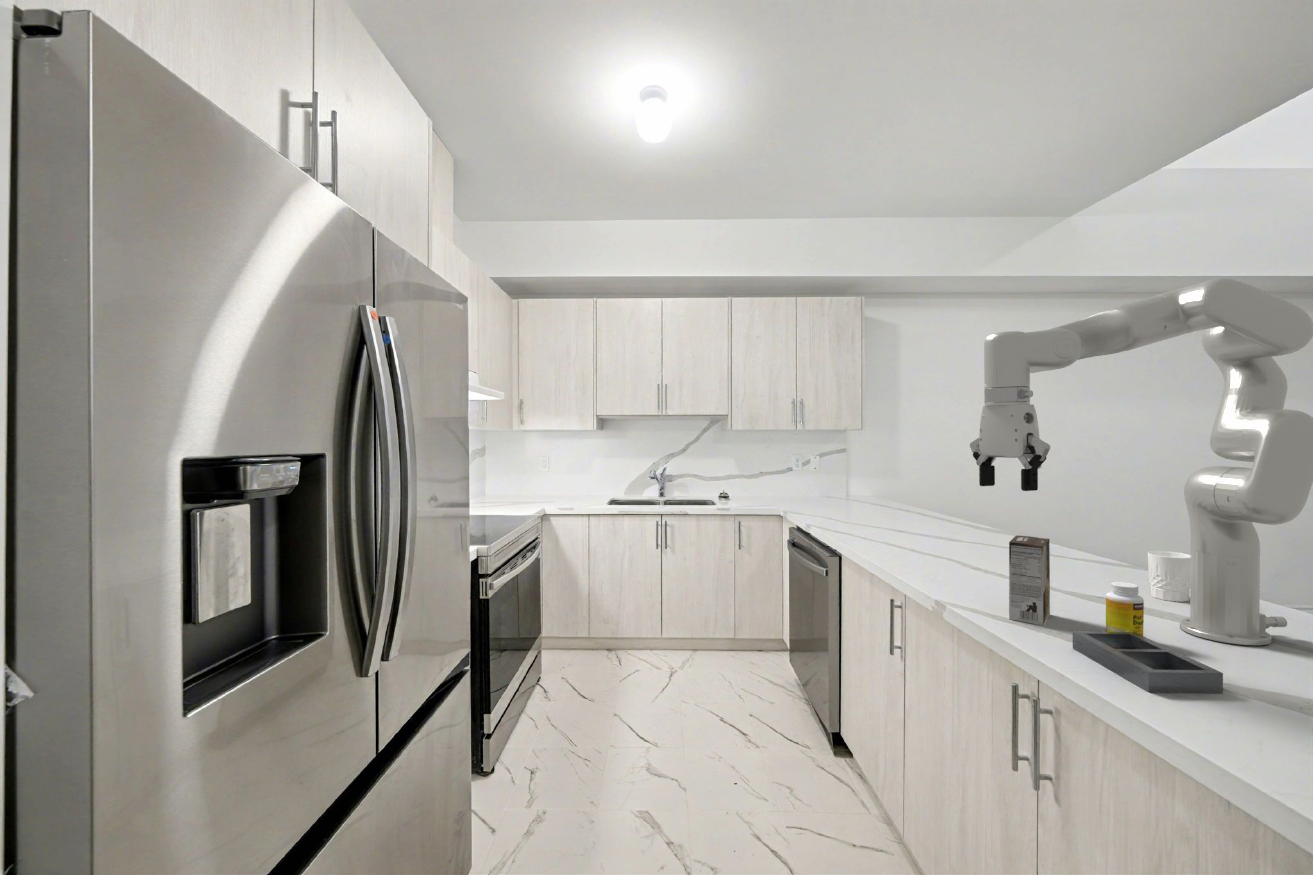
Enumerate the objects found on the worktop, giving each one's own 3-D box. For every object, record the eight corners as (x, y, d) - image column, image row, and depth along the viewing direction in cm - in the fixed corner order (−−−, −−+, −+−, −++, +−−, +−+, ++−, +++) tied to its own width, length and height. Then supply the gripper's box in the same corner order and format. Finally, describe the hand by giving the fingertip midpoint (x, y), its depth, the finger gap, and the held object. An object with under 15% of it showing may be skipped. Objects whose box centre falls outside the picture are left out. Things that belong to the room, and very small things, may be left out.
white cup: (1138, 595, 141) (1139, 552, 141) (1162, 592, 144) (1162, 549, 144) (1176, 604, 134) (1176, 559, 134) (1201, 600, 136) (1201, 556, 136)
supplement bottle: (1136, 646, 109) (1136, 589, 109) (1100, 638, 113) (1100, 583, 113) (1148, 640, 112) (1148, 585, 112) (1113, 632, 116) (1113, 579, 116)
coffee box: (1015, 609, 132) (1015, 534, 131) (1050, 614, 128) (1050, 537, 127) (1007, 619, 125) (1007, 541, 124) (1044, 625, 121) (1044, 544, 120)
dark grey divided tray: (1072, 648, 108) (1072, 631, 108) (1134, 648, 108) (1134, 632, 108) (1148, 692, 90) (1148, 672, 90) (1222, 693, 90) (1222, 673, 90)
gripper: (1064, 395, 108) (1064, 491, 108) (986, 400, 125) (987, 483, 125) (1030, 395, 106) (1031, 493, 106) (956, 400, 123) (957, 485, 123)
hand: (1007, 488), depth 116 cm, fingers open, 9 cm apart
